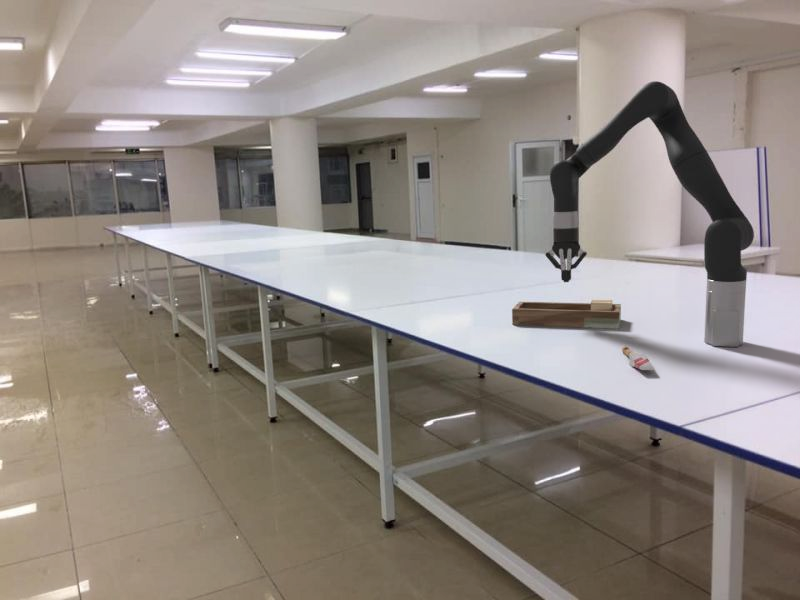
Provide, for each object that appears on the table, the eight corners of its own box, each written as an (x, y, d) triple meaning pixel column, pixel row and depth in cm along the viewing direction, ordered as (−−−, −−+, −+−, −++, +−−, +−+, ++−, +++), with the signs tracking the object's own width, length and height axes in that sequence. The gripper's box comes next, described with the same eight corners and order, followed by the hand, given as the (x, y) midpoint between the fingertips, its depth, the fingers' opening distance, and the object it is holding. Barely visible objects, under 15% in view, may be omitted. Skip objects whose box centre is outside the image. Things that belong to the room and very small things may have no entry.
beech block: (611, 315, 193) (611, 303, 192) (590, 315, 195) (590, 302, 194) (612, 312, 197) (612, 299, 196) (592, 311, 199) (592, 299, 199)
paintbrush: (640, 363, 145) (618, 344, 165) (640, 375, 145) (618, 355, 165) (657, 363, 145) (633, 344, 164) (657, 375, 145) (633, 354, 165)
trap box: (618, 328, 189) (619, 312, 188) (512, 324, 201) (512, 309, 200) (620, 319, 200) (620, 304, 199) (519, 316, 212) (519, 301, 211)
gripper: (542, 228, 193) (543, 283, 197) (586, 226, 189) (587, 283, 192) (545, 226, 200) (546, 279, 203) (589, 224, 195) (589, 279, 199)
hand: (566, 281), depth 198 cm, fingers closed
